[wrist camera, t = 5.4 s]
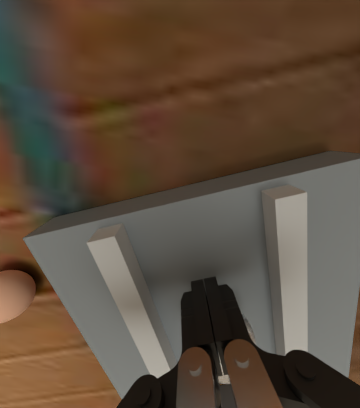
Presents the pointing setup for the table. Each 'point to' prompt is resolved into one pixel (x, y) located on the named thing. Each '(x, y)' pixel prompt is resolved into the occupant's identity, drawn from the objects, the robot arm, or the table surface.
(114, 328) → the slate board
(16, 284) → the terracotta ball
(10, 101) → the table surface
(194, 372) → the robot arm
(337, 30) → the table surface
